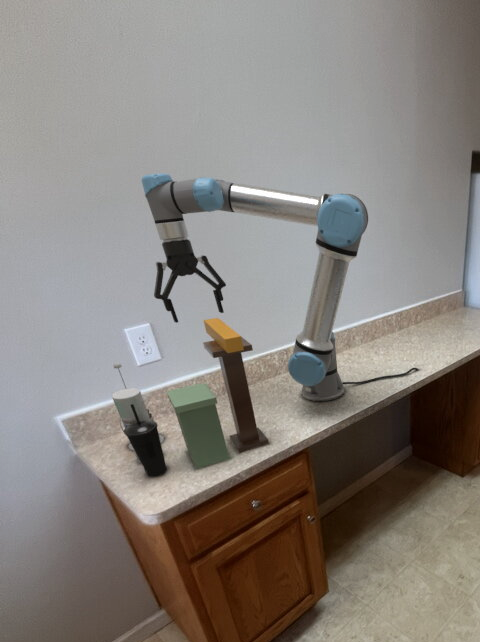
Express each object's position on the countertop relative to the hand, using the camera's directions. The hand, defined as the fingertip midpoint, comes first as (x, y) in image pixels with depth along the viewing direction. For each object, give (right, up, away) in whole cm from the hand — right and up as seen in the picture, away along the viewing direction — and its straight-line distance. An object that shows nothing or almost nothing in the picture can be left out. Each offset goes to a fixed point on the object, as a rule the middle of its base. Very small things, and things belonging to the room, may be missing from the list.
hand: (199, 317), depth 128 cm
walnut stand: (+16, -38, -3) cm, 42 cm away
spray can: (-10, -43, -9) cm, 45 cm away
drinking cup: (-5, -47, -15) cm, 49 cm away
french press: (-15, -39, -2) cm, 42 cm away
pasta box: (+14, -12, -17) cm, 25 cm away
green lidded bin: (+6, -42, -9) cm, 44 cm away
